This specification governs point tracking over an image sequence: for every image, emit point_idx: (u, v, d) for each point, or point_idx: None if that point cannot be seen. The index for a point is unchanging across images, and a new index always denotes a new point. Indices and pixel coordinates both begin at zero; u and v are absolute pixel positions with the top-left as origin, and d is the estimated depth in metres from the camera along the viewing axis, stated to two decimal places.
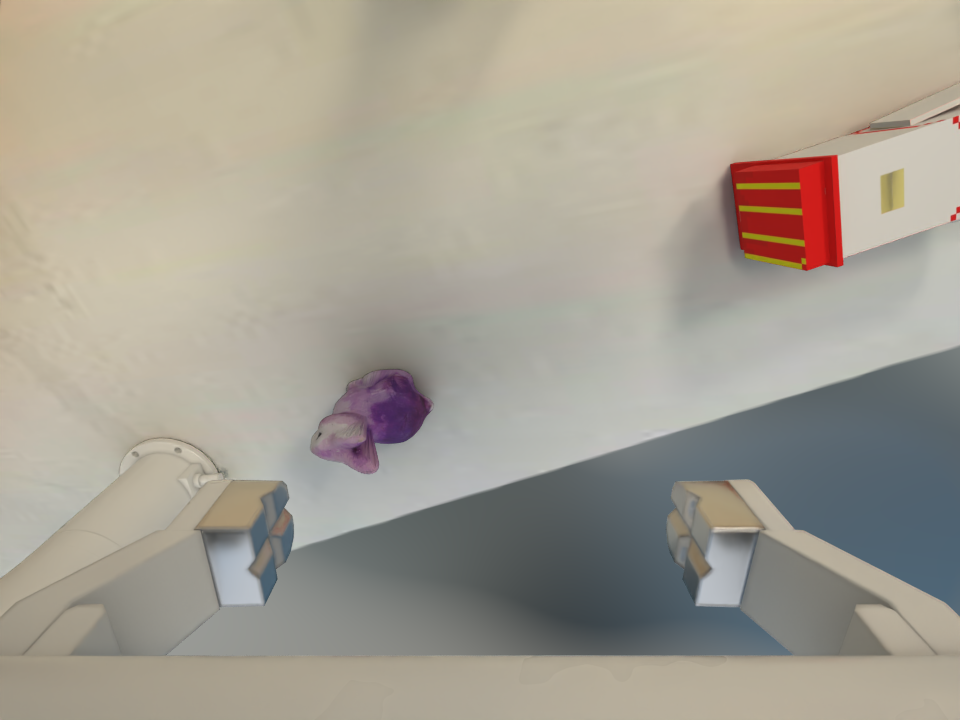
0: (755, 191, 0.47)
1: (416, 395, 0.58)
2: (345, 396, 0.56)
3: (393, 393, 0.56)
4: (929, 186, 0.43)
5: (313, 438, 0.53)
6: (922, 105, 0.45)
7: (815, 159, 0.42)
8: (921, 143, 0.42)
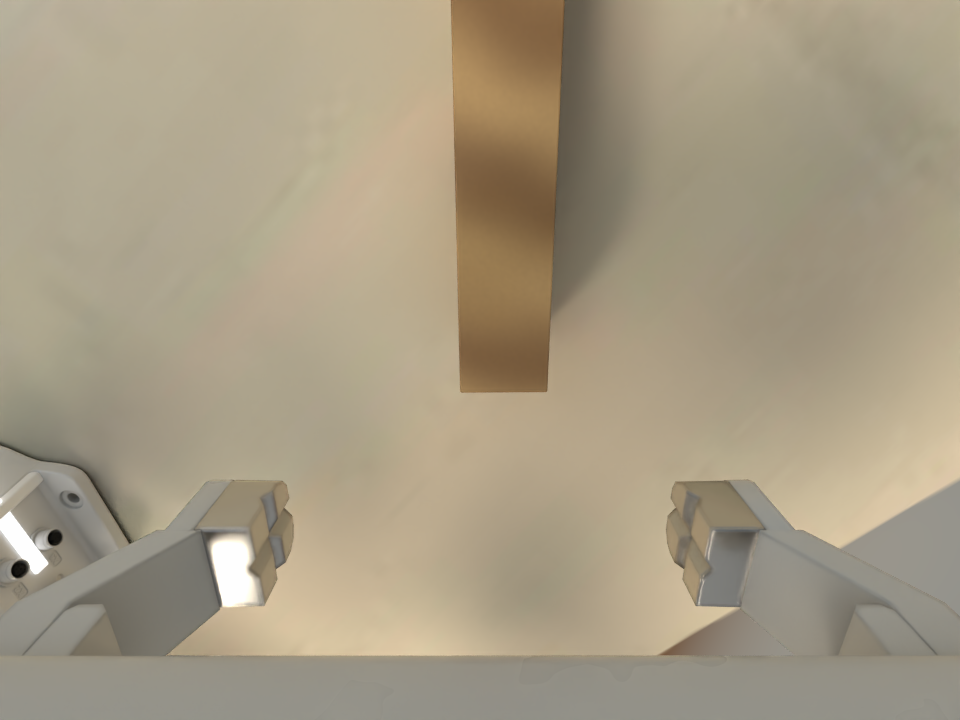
0: None
1: None
2: None
3: None
4: None
5: None
6: None
7: None
8: None
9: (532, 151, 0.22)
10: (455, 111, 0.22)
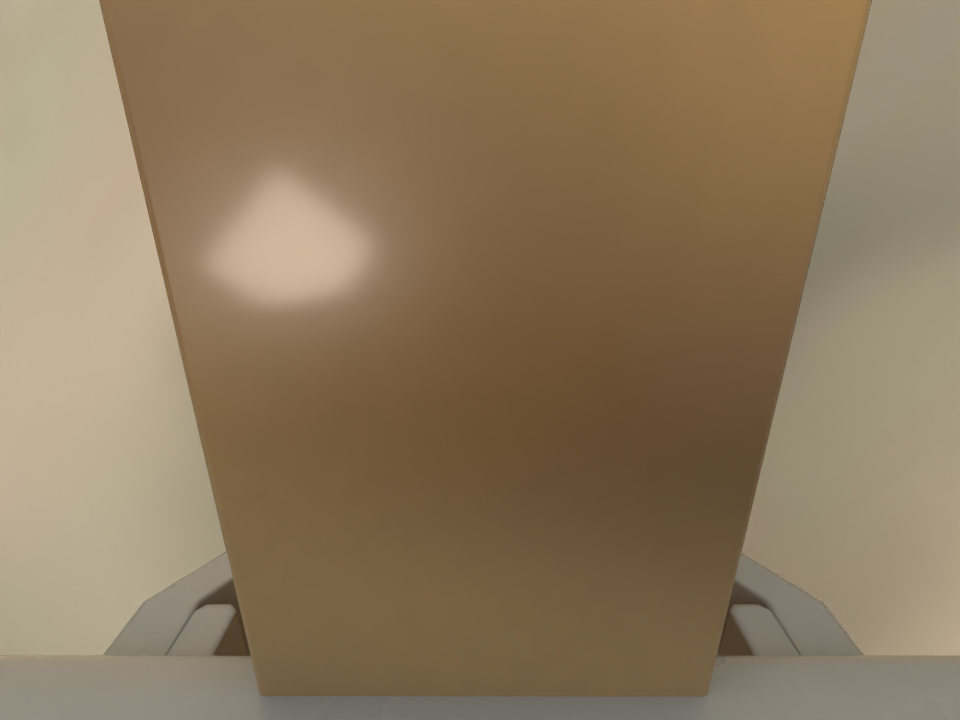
0: None
1: None
2: None
3: None
4: None
5: None
6: None
7: None
8: None
9: (673, 63, 0.03)
10: None
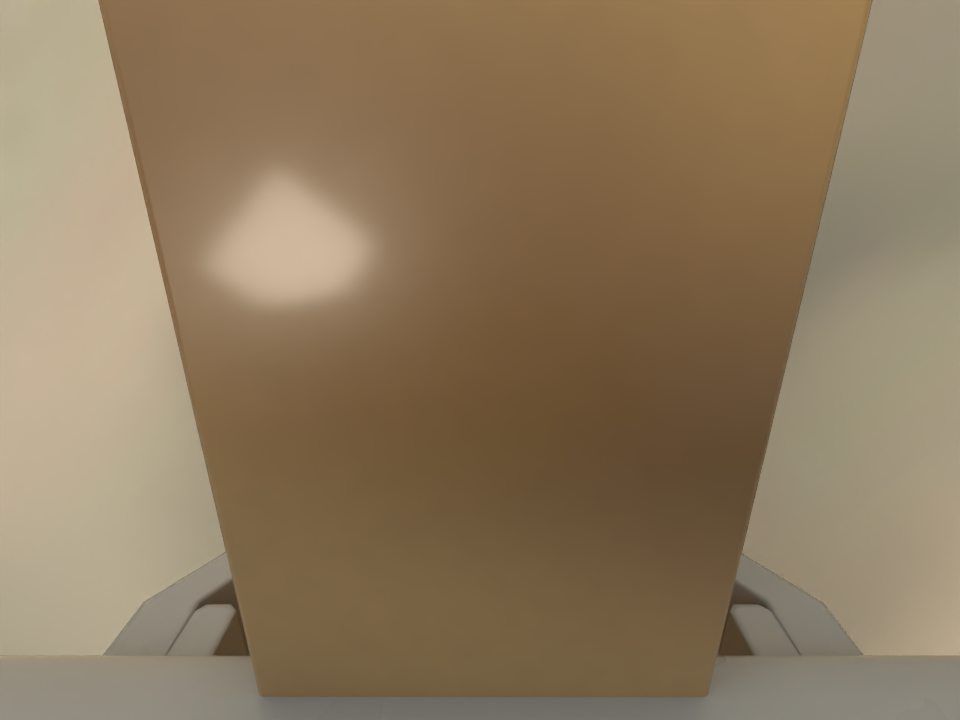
0: None
1: None
2: None
3: None
4: None
5: None
6: None
7: None
8: None
9: (676, 62, 0.03)
10: None
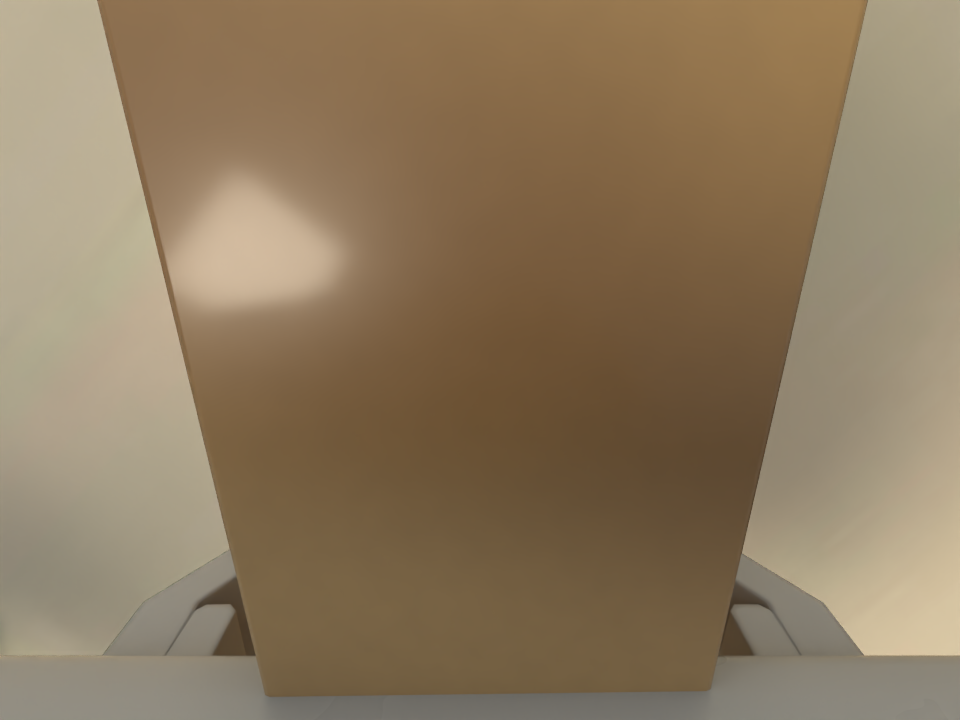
0: None
1: None
2: None
3: None
4: None
5: None
6: None
7: None
8: None
9: (675, 66, 0.03)
10: None
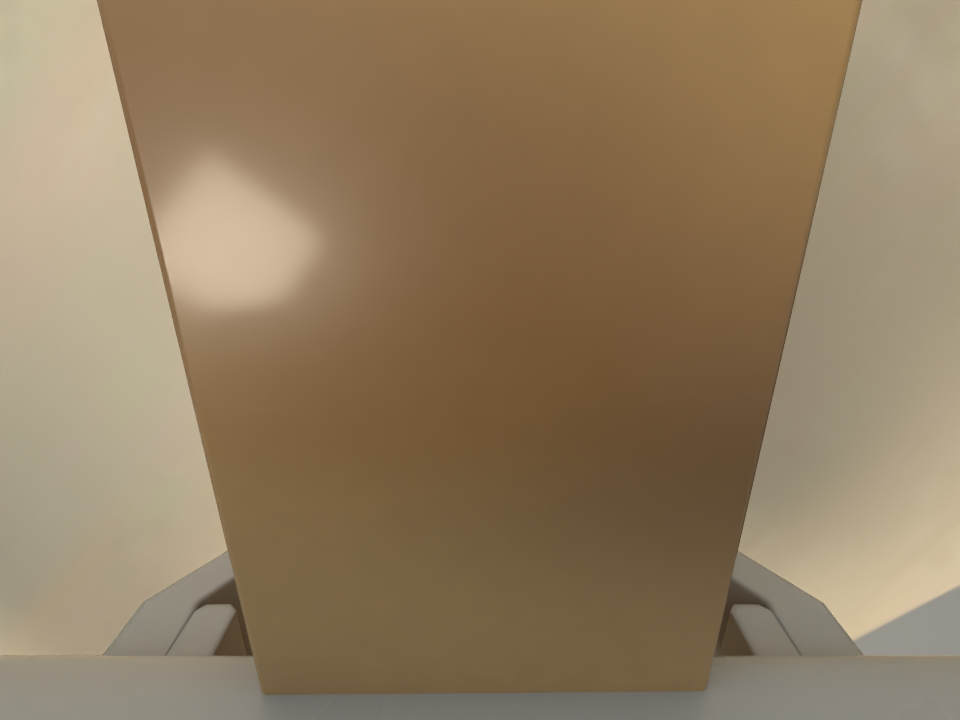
0: None
1: None
2: None
3: None
4: None
5: None
6: None
7: None
8: None
9: (670, 59, 0.03)
10: None
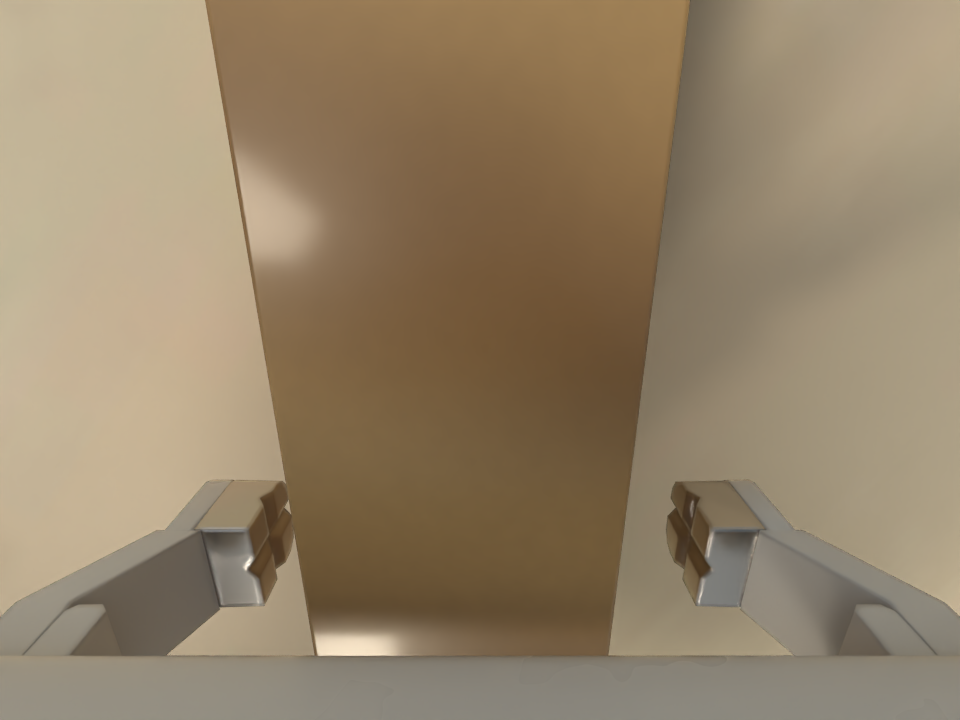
0: None
1: None
2: None
3: None
4: None
5: None
6: None
7: None
8: None
9: (566, 100, 0.05)
10: None
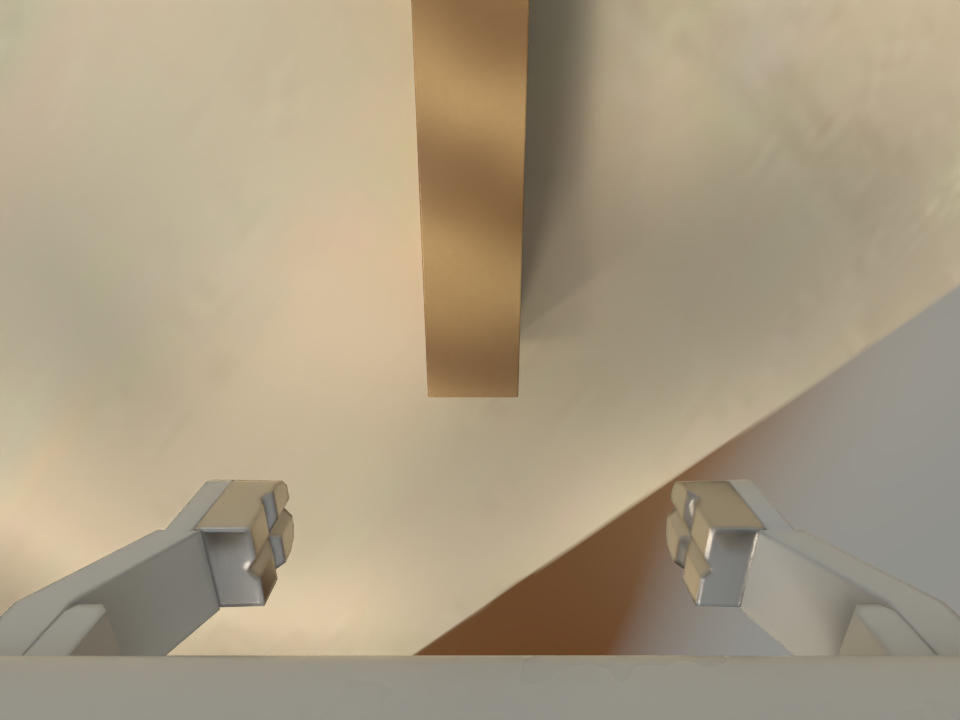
0: None
1: None
2: None
3: None
4: None
5: None
6: None
7: None
8: None
9: (498, 146, 0.21)
10: (417, 104, 0.21)
